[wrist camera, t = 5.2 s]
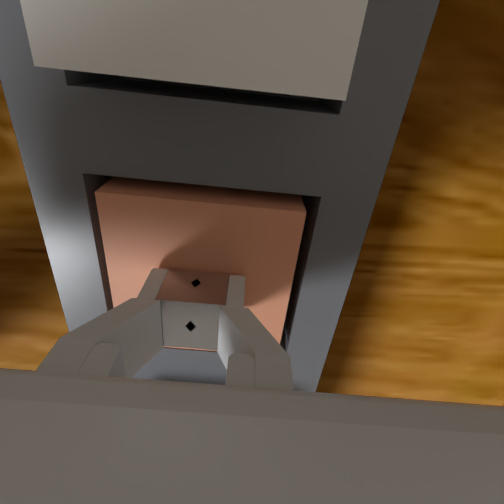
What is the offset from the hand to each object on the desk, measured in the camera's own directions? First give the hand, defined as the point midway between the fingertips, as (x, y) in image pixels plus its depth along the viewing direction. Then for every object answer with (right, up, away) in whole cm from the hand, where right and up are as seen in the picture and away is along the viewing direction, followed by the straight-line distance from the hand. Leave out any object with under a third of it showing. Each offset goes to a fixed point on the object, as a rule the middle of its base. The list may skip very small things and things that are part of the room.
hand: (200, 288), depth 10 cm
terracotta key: (0, +2, +3) cm, 3 cm away
